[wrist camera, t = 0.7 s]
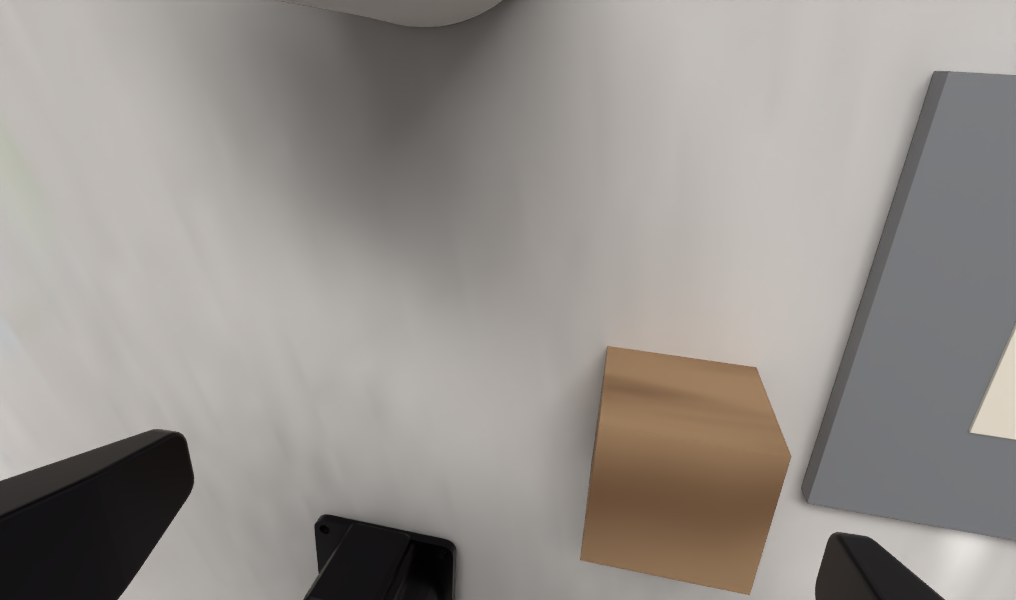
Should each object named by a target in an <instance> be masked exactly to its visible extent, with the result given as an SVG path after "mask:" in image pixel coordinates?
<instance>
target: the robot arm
mask: <svg viewBox="0 0 1016 600" xmlns="http://www.w3.org/2000/svg"><path fill="white" fill-rule="evenodd" d="M193 484H194V473H193V468H192V464H191V459H190V454H189V449H188V444H187V441H186V438H185V437H184V436H183V434H181V433H179V432H175V431H169V430H162V429H153V430H150V431H147V432H144V433H141V434H138V435H135V436H132V437H129V438H126V439H123V440H120V441H117V442H114V443H111V444H108V445H105V446H102V447H99V448H96V449H93V450H91V451H88V452H85V453H82V454H79V455H76V456H73V457H70V458H67V459H64V460H61V461H58V462H55V463H52V464H49V465H46V466H43V467H40V468H37V469H34V470H31V471H28V472H26V473H23V474H20V475H17V476H14V477H11V478H8V479H5V480H2V481H0V600H118V599H119V597H120V596H121V595H122V593H123V592H124V591H125V589H126V588H127V587H128V585H129V584H130V582H131V581H132V580H133V578H134V577H135V575H136V574H137V573H138V571H139V570H140V568H141V567H142V565H143V564H144V562H145V561H146V559H147V558H148V556H149V555H150V553H151V552H152V550H153V549H154V547H155V546H156V544H157V543H158V541H159V540H160V538H161V537H162V535H163V534H164V532H165V531H166V529H167V528H168V526H169V525H170V523H171V522H172V520H173V519H174V517H175V516H176V514H177V513H178V511H179V510H180V508H181V507H182V505H183V504H184V502H185V501H186V499H187V498H188V497H189V495H190V493H191V491H192V488H193ZM314 528H315V539H316V550H317V560H318V571H319V575H318V577H317V578H316V580H315V581H314V583H313V585H312V586H311V588H310V589H309V591H308V593H307V594H306V596H305V597H304V599H303V600H455V568H456V548H455V546H454V544H453V543H452V542H450V541H449V540H446V539H442V538H437V537H432V536H427V535H423V534H418V533H413V532H408V531H404V530H399V529H394V528H389V527H385V526H380V525H375V524H370V523H366V522H361V521H356V520H351V519H347V518H342V517H337V516H332V515H322V516H321V517H320V518H319V519H318V521H317V522H316V523H315V527H314ZM441 550H443V551H445V552H443V551H441ZM815 597H816V600H945V599H944V598H942V597H941V596H940V595H939V594H938V593H936V592H935V591H934V590H933V589H932V588H930V587H929V586H928V585H927V584H926V583H925V582H923V581H922V580H921V579H920V578H919V577H917V576H916V575H915V574H914V573H913V572H911V571H910V570H909V569H908V568H907V567H905V566H904V565H903V564H902V563H901V562H900V561H898V560H897V559H896V558H895V557H894V556H892V555H891V554H890V553H889V552H888V551H886V550H885V549H884V548H883V547H882V546H880V545H879V544H878V543H877V542H876V541H874V540H873V539H871V538H869V537H867V536H862V535H855V534H848V533H842V532H836V533H833V534H832V535H831V536H830V537H829V539H828V542H827V545H826V549H825V552H824V556H823V559H822V563H821V566H820V569H819V573H818V576H817V580H816V586H815Z"/></svg>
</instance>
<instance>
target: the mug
mask: <svg viewBox="0 0 1016 600" xmlns="http://www.w3.org/2000/svg"><path fill="white" fill-rule="evenodd" d="M277 1H283V2H288V3H294V4H299V5H305V6H310V7H316V8H321V9H327V10H332V11H338V12H343V13H349V14H354V15H359V16H364V17H369V18H373V19H377V20H381V21H385V22H389V23H393V24H397V25H403V26H413V27H437V26H446V25H450V24H455V23H459V22H462V21H465V20H468V19H470V18H473V17H476V16H478V15H480V14H482V13H484V12H485V11H487V10H489V9H491V8H493V7H494V6H496V5H497V4H498V3H500V2H501V1H502V0H277Z"/></svg>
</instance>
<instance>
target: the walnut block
mask: <svg viewBox="0 0 1016 600" xmlns="http://www.w3.org/2000/svg"><path fill="white" fill-rule="evenodd" d="M790 459H791V455H790V452H789V449H788V447H787V444H786V442H785V439H784V437H783V434H782V432H781V429H780V427H779V424H778V422H777V419H776V416H775V414H774V411H773V409H772V406H771V404H770V401H769V399H768V396H767V394H766V391H765V389H764V386H763V383H762V381H761V378H760V376H759V373H758V371H757V368H756V367H749V366H742V365H735V364H728V363H721V362H714V361H707V360H700V359H693V358H686V357H679V356H672V355H665V354H659V353H652V352H645V351H638V350H631V349H624V348H617V347H610V346H608V348H607V355H606V362H605V369H604V377H603V384H602V391H601V398H600V406H599V413H598V420H597V427H596V434H595V442H594V449H593V456H592V464H591V472H590V481H589V489H588V498H587V506H586V515H585V524H584V532H583V541H582V549H581V558H580V560H582V561H587V562H592V563H597V564H601V565H606V566H611V567H616V568H621V569H626V570H631V571H635V572H640V573H645V574H650V575H655V576H660V577H665V578H669V579H674V580H679V581H684V582H689V583H694V584H699V585H703V586H708V587H713V588H718V589H723V590H728V591H732V592H737V593H742V594H747V595H750V592H751V589H752V585H753V582H754V579H755V575H756V572H757V569H758V565H759V562H760V559H761V555H762V552H763V549H764V545H765V542H766V539H767V535H768V532H769V529H770V525H771V522H772V519H773V515H774V512H775V509H776V506H777V502H778V499H779V496H780V492H781V489H782V486H783V482H784V479H785V476H786V472H787V469H788V466H789V462H790Z"/></svg>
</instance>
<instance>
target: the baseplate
mask: <svg viewBox="0 0 1016 600" xmlns="http://www.w3.org/2000/svg"><path fill="white" fill-rule="evenodd" d="M802 491H803V493H804V496H805V499H806V501H807V503H809V504H815V505H820V506H826V507H831V508H837V509H843V510H848V511H854V512H859V513H865V514H870V515H876V516H882V517H887V518H893V519H898V520H904V521H909V522H915V523H921V524H926V525H932V526H937V527H943V528H948V529H954V530H960V531H965V532H971V533H976V534H982V535H987V536H993V537H999V538H1004V539H1010V540H1015V541H1016V75H1001V74H984V73H967V72H950V71H934V74H933V77H932V80H931V83H930V86H929V89H928V93H927V96H926V99H925V102H924V105H923V108H922V111H921V115H920V118H919V121H918V124H917V127H916V130H915V133H914V137H913V140H912V143H911V146H910V149H909V152H908V155H907V158H906V162H905V165H904V168H903V171H902V174H901V177H900V180H899V184H898V187H897V190H896V193H895V196H894V199H893V202H892V205H891V209H890V212H889V215H888V218H887V221H886V224H885V227H884V231H883V234H882V237H881V240H880V243H879V246H878V249H877V252H876V256H875V259H874V262H873V265H872V268H871V271H870V274H869V278H868V281H867V284H866V287H865V290H864V293H863V296H862V299H861V303H860V306H859V309H858V312H857V315H856V318H855V321H854V325H853V328H852V331H851V334H850V337H849V340H848V343H847V346H846V350H845V353H844V356H843V359H842V362H841V365H840V368H839V372H838V375H837V378H836V381H835V384H834V387H833V390H832V394H831V397H830V400H829V403H828V406H827V409H826V412H825V415H824V419H823V422H822V425H821V428H820V431H819V434H818V437H817V441H816V444H815V447H814V450H813V453H812V456H811V459H810V462H809V466H808V469H807V472H806V475H805V478H804V481H803V484H802Z"/></svg>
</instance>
